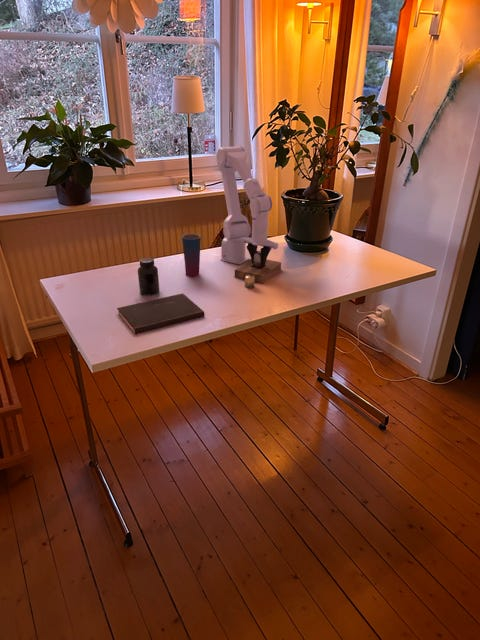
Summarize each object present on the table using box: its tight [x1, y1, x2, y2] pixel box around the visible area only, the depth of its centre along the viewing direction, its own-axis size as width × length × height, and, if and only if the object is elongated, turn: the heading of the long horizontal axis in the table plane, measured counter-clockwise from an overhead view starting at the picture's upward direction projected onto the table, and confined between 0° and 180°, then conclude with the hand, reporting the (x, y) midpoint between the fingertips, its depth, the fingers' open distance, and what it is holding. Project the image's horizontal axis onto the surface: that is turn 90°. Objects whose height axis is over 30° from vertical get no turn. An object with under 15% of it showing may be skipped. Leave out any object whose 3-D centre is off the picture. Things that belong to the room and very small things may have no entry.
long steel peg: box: [254, 250, 262, 269], centre depth 178 cm, size 3×3×7 cm
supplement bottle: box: [137, 257, 160, 296], centre depth 161 cm, size 7×7×12 cm
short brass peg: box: [244, 275, 255, 290], centre depth 169 cm, size 3×3×4 cm
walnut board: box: [234, 258, 282, 284], centre depth 180 cm, size 12×16×3 cm
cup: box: [181, 233, 201, 278], centre depth 175 cm, size 7×7×15 cm
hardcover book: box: [116, 293, 206, 335], centre depth 149 cm, size 16×23×2 cm
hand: (258, 263), depth 179 cm, fingers closed on long steel peg, 3 cm apart
